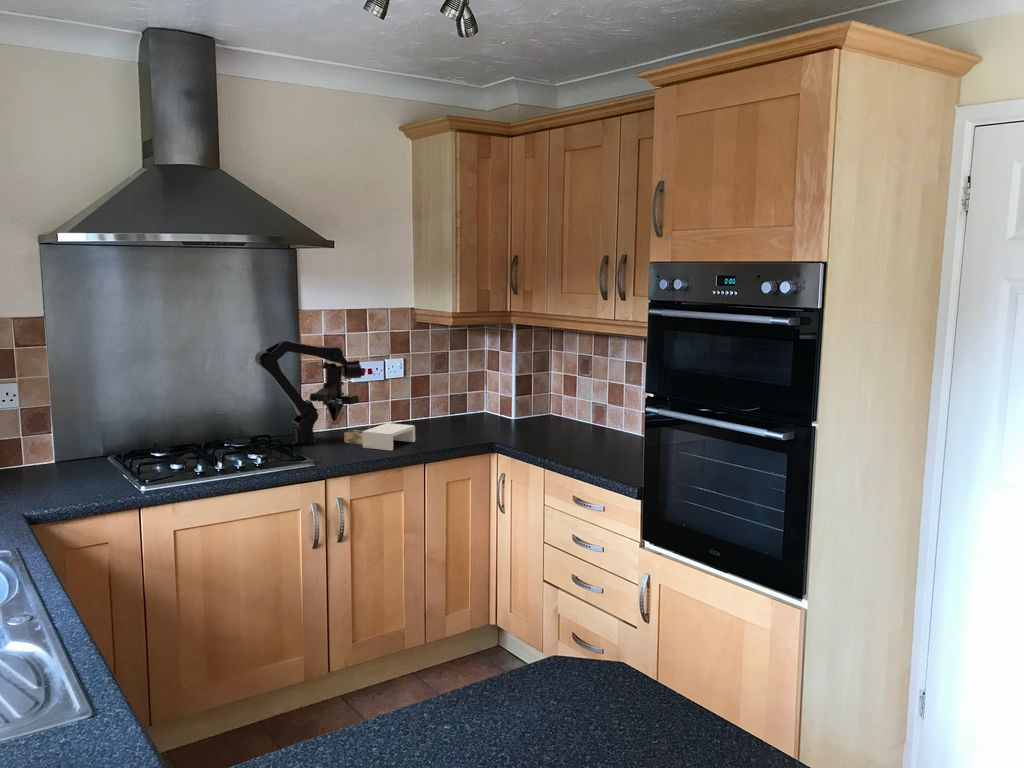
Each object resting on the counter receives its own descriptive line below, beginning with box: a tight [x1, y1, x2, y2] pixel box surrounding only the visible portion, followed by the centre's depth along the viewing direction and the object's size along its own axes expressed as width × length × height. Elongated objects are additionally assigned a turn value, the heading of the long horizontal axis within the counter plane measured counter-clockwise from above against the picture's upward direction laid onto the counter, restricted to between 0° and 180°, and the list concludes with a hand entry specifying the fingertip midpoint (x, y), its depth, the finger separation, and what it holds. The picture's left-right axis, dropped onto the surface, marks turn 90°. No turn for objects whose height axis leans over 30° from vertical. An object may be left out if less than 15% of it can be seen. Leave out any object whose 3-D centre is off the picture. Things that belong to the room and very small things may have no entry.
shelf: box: [361, 422, 416, 452], centre depth 307 cm, size 12×17×6 cm
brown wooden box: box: [343, 429, 363, 446], centre depth 311 cm, size 10×6×4 cm, turn 63°
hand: (334, 420), depth 314 cm, fingers closed
